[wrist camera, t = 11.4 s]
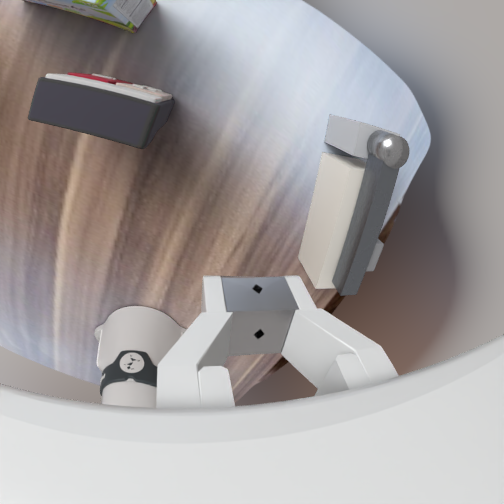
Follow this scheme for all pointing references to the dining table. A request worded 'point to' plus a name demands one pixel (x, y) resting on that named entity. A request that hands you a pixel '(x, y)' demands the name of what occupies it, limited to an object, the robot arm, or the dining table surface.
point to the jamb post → (350, 135)
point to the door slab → (332, 218)
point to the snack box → (107, 10)
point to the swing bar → (370, 208)
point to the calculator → (101, 107)
